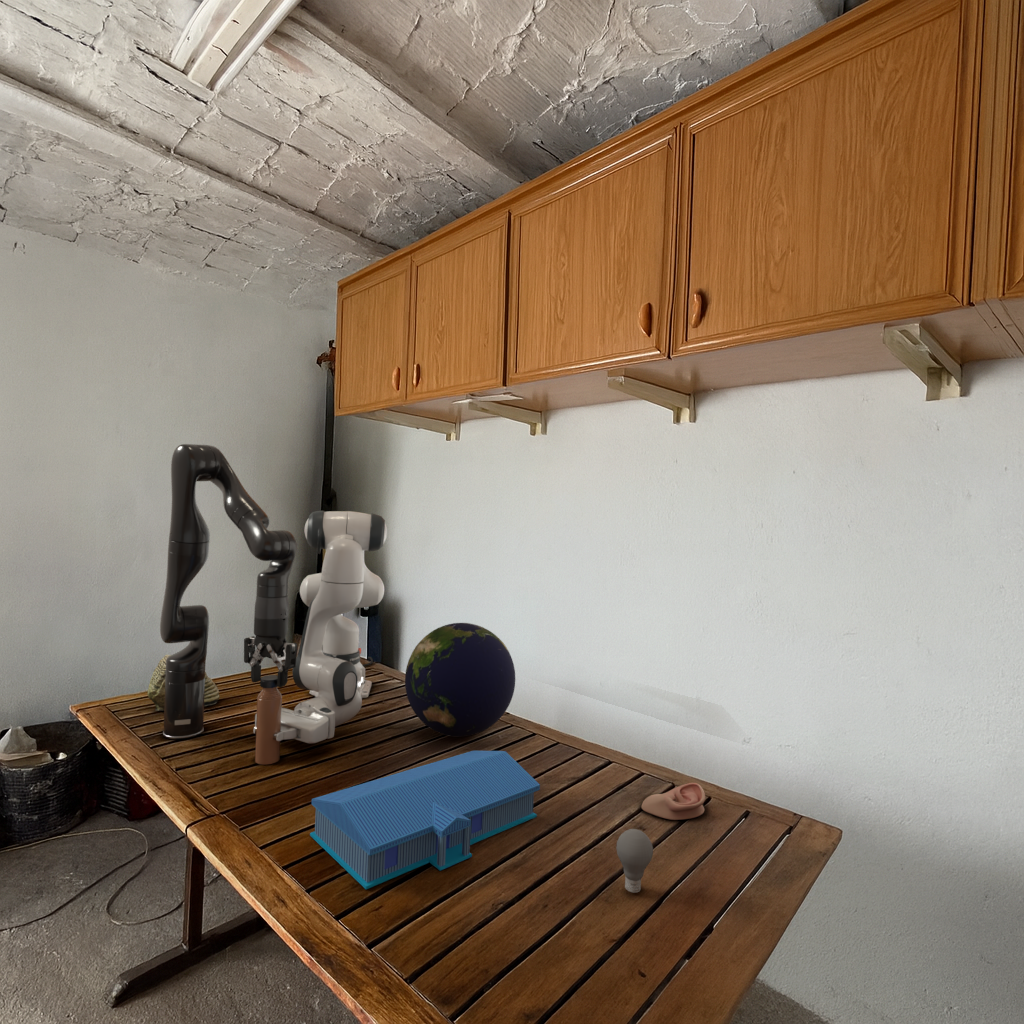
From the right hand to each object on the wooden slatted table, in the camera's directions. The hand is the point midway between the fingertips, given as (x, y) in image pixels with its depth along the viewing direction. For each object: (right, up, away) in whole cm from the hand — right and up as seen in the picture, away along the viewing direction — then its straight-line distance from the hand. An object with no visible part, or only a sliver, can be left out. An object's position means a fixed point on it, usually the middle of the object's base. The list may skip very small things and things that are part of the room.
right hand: (265, 734), depth 150 cm
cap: (+1, +13, +1) cm, 13 cm away
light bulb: (+79, -11, -44) cm, 91 cm away
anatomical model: (+93, -11, -15) cm, 95 cm away
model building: (+43, -9, -27) cm, 52 cm away
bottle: (0, -6, +1) cm, 6 cm away
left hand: (+1, +12, 0) cm, 12 cm away
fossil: (-38, -4, +35) cm, 52 cm away
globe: (+44, -8, +23) cm, 50 cm away
